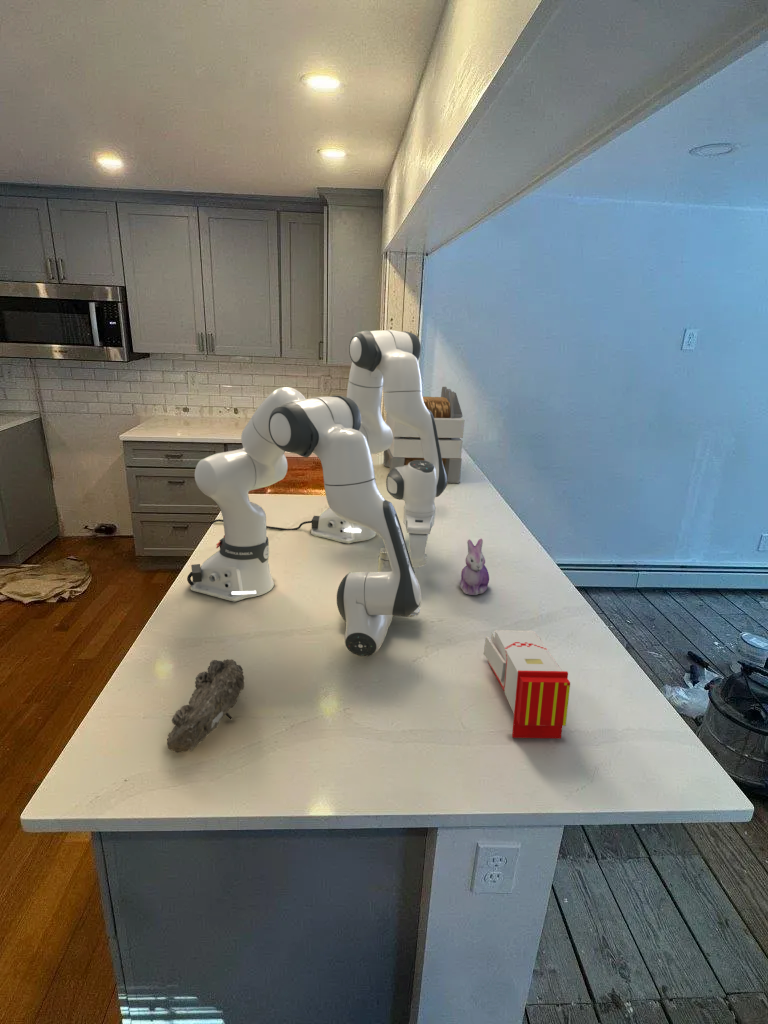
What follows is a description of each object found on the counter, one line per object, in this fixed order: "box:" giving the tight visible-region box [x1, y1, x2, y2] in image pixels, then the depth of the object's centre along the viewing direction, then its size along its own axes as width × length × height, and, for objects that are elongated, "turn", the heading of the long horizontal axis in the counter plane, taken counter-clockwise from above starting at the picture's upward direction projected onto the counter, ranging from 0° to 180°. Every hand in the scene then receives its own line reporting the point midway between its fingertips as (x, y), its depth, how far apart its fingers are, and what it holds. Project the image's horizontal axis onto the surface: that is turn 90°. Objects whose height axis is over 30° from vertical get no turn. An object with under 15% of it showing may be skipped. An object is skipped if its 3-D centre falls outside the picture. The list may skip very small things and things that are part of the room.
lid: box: [408, 551, 428, 567], centre depth 166 cm, size 6×6×2 cm
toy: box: [483, 629, 571, 739], centre depth 117 cm, size 12×13×30 cm
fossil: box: [166, 658, 245, 754], centre depth 106 cm, size 22×10×15 cm
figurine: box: [459, 538, 490, 596], centre depth 160 cm, size 9×10×15 cm
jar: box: [377, 546, 392, 572], centre depth 149 cm, size 5×5×16 cm
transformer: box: [383, 386, 465, 484], centre depth 268 cm, size 34×33×41 cm
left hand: (387, 585), depth 151 cm, fingers closed on jar, 5 cm apart
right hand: (416, 562), depth 166 cm, fingers closed on lid, 6 cm apart
